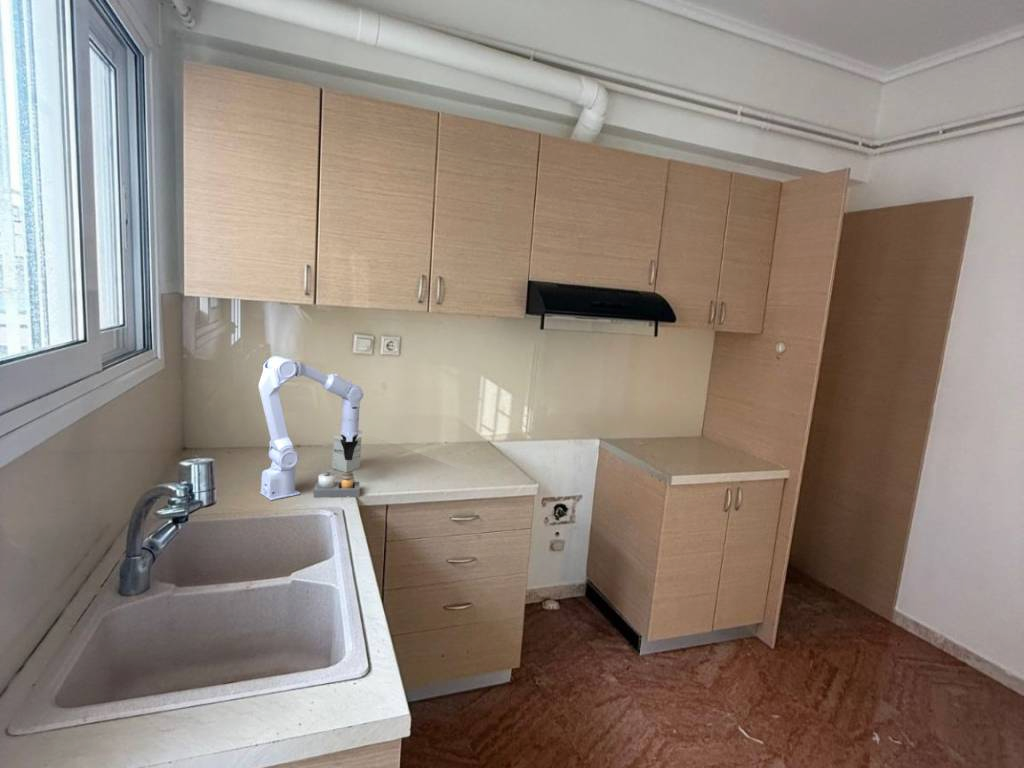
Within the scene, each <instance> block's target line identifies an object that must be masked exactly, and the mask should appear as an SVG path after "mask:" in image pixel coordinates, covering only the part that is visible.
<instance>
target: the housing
mask: <svg viewBox="0 0 1024 768" xmlns="http://www.w3.org/2000/svg"><path fill="white" fill-rule="evenodd" d="M317 479H318V481H315V483H314V488H313V498H314V497H330V498H348V497H347V496H351V497H350V498H360V481H353V488H341V482H342V481H336V474H334V473H330V472H329V471H324V472H323V473H320V474H318V477H317Z"/></svg>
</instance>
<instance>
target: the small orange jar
mask: <svg viewBox="0 0 1024 768" xmlns="http://www.w3.org/2000/svg"><path fill="white" fill-rule="evenodd" d="M340 475H341V476H340V479H341V481H340V482H341V488H353V482H354V478H355V476H354V474H353V473H342V474H340Z"/></svg>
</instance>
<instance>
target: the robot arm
mask: <svg viewBox="0 0 1024 768" xmlns="http://www.w3.org/2000/svg"><path fill="white" fill-rule="evenodd" d="M302 376H303V377H305V378H307V379H310V380H313V381H315V382H317V383H320V384H322V389H324V390H325V391H326V392H329V393H332V394H333V395H335V396H338V397H340V398H341V399H342V402H341V403H342V407H341V424H340V425H341V426H340V427H341V429H340V432H339V433H340V435H341V436H342V438H343V440H342V439H341V444H342V446H343V450H344V457H345V460H352V457H353V453H354V449H355V447H356V445H357V443H358V441H355V440H356V438H357V436H358V437H359V434H362V433H363V430H359V429H360V428H359V426H360V408H361V407H360V405H361V402H362V399H363V398H364V396H365V394H364V392H363V389H362V388H361V386H359V385H356V384H354V383H352V381H351V380H345V379H344V378H342V377H341V375H339V374H337V373H334V374H333V373H329V374H327V375H326V374H325V373H322V372H321V371H319V370H317V369H315V368H313V367H311V366H309V365H307V364H306V363H303V362H299V361H296V360H293V359H290V358H286V357H283V356H281V355H272V356H271V357H269V358H268V359H267V360H266V362H265V363H264V364H263V370H262V373H261V376H260V379H259V382H258V392H259V395H260V399H261V404H262V408H263V412H264V415H265V416H264V417H265V421H266V425H267V429H268V433H269V436H270V440H269V442H268V445H269V450H268V457H269V459H270V461H271V465H270V467H269V468H267V469H264V470H262V472H261V482H260V483H261V486H260V488H261V489H260V493H259V494H261V495H262V496H264V497H265V498H266V499H268V500H269V501H274V500H279V499H284V498H289V497H293V496H298V495H301V492H300V491H298V490H296V465H297V464H298V463H299V460H300V455H299V453H298V452H297V451H296V449H295V448H294V445H293V444H294V443H293V442H292V440H291V439H290V437H289V432H288V428H287V424H286V419H285V414H284V411H283V406H282V401H281V397H280V392H279V390H280V389H281V387H282V386H283V385H284V384H285V383H287V382H289V381H290V380H292V378H294V377H297V378H298V377H302Z"/></svg>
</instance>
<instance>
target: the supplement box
mask: <svg viewBox="0 0 1024 768" xmlns="http://www.w3.org/2000/svg"><path fill="white" fill-rule="evenodd" d="M341 439H342V440H343V438H342V436H341V434H339V435H334V436H333V449H332V463H331V465H332V466H331V468H332V470H333V469H334V470H337V471H340V472H344V473H345V474H348V473H349V472H353V471H355V470H359V469H360V465H361V454H362V453H361V451H362V450H361V449H362V437H361V436H359V435H358V436H357V438H356V440H355V441H358V443H357V445H356V447H355V449H354V453H353V457H352V460H345V457H344V450H343V446H342V444H341Z"/></svg>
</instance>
